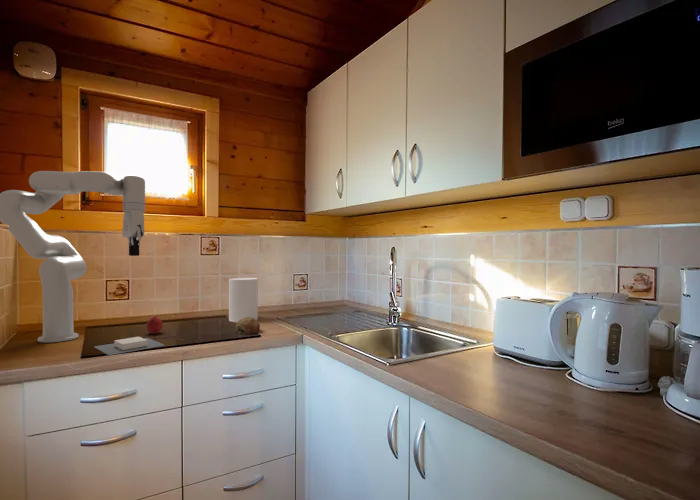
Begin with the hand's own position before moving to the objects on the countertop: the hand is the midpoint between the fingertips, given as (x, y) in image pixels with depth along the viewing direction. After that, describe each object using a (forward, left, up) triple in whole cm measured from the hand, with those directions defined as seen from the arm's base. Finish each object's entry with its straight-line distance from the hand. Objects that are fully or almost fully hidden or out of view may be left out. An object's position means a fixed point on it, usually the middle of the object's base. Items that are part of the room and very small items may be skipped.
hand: (134, 255), depth 153 cm
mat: (+13, -6, -32) cm, 35 cm away
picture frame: (+10, -6, -30) cm, 32 cm away
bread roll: (+20, +37, -32) cm, 54 cm away
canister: (-4, +51, -32) cm, 61 cm away
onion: (-1, +8, -32) cm, 33 cm away
